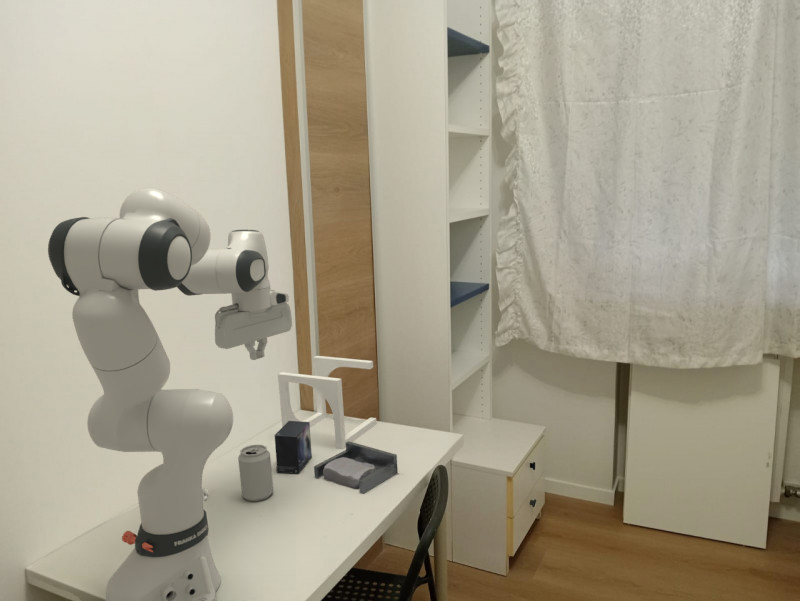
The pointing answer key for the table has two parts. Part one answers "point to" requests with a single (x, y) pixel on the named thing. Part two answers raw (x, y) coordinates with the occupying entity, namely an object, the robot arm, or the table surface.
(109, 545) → the table surface
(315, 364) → the white open frame
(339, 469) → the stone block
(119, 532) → the table surface
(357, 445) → the grey u-shaped bracket
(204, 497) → the adhesive hook
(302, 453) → the small box
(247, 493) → the can
